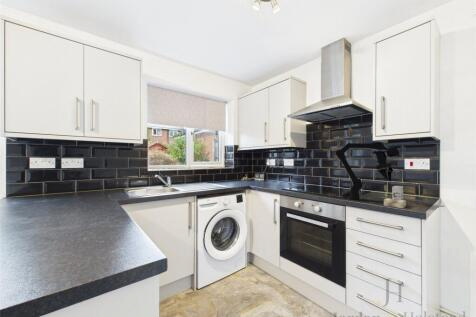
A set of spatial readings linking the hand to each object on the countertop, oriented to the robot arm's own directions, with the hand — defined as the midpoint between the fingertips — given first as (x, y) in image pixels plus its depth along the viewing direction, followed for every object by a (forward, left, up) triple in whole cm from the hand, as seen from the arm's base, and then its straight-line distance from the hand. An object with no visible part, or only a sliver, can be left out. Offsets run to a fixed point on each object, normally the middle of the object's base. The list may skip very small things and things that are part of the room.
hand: (389, 180), depth 140 cm
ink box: (+4, +1, -16) cm, 16 cm away
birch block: (+4, -7, -16) cm, 18 cm away
